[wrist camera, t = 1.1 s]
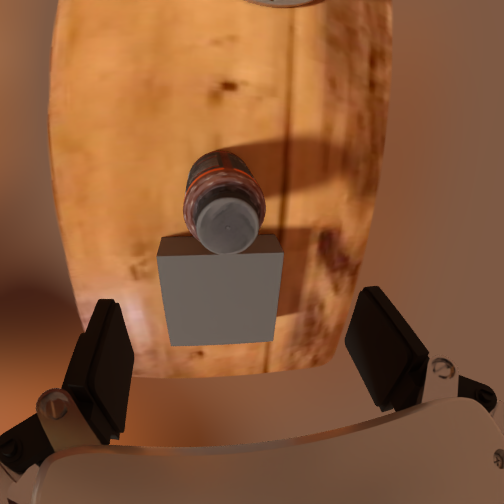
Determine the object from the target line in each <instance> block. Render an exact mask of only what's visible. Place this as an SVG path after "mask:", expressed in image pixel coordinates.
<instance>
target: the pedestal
mask: <svg viewBox="0 0 504 504" xmlns="http://www.w3.org/2000/svg"><path fill="white" fill-rule="evenodd" d="M283 257H284V251H283V249H282V247H281V245H280V243H279V241H278V239H277V237H276V235H275V234H270V235H257V237H256V239H255V241H254V242H253V243H252V244H251V245H250V246H249V247H248V248H247V249H246V250H244V251H242V252H240V253H237V254H234V255H219V254H216V253H213V252H211V251H209V250H208V249H207V248H205V247H204V246H203V245H202V243H201V242H200V241H198V240H197V239H196V238H195V237H194V236H188V237H162V238H161V242H160V246H159V249H158V253H157V263H158V271H159V278H160V285H161V292H162V298H163V304H164V310H165V316H166V322H167V327H168V333H169V338H170V343H171V346H199V345H223V344H241V343H255V342H267V341H273V337H274V329H275V322H276V314H277V307H278V299H279V291H280V283H281V274H282V266H283Z"/></svg>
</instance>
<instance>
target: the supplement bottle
mask: <svg viewBox="0 0 504 504" xmlns="http://www.w3.org/2000/svg"><path fill="white" fill-rule="evenodd" d="M265 211H266V205H265V199H264V196H263V193H262V191H261V189H260V187H259V185H258V183H257V182H256V180H255V178H254V177H253V175H252V174H251V172H250V171H249V169H248V167H247V166H246V164H245V163H244V162H243V161H242V160H241V159H240V158H239V157H237V156H236V155H234V154H232V153H229V152H225V151H214V152H210V153H208V154H205V155H203V156H202V157H200V158H199V159H198V160H197V161H196V162H195V163H194V165H193V166H192V168H191V170H190V172H189V176H188V181H187V186H186V192H185V199H184V206H183V214H184V220H185V223H186V225H187V227H188V229H189V231H190V232H191V234H192V235H193V236H194V237H195V238H196V239H197V240H198V241H200V242H201V243H202V245H203V246H204V247H205V248H207V249H208V250H209V251H211V252H213V253H216V254H219V255H234V254H237V253H240V252H242V251H244V250H246V249H247V248H248V247H249V246H250V245H251V244H252V243H253V242H254V241H255V239H256V237H257V235H258V232H259V229H260V227H261V226H262V223H263V221H264V217H265Z"/></svg>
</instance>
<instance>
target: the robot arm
mask: <svg viewBox="0 0 504 504" xmlns="http://www.w3.org/2000/svg"><path fill="white" fill-rule="evenodd" d="M244 1H247V2H250V3H253V4H257V5H261V6H268V7H283V8H286V7H294V6H300V5H303V4H307V3H310V2H312V1H314V0H273V1H270V0H244ZM345 345H346V348H347V350H348V351H349V354H350V355H351V357H352V359H353V361H354V363H355V365H356V367H357V369H358V371H359V373H360V375H361V377H362V379H363V381H364V383H365V385H366V387H367V389H368V391H369V393H370V395H371V397H372V399H373V401H374V403H375V405H376V406H379V407H380V409H381V411H382V412H384V411H388V410H391V409H393V408H394V409H395V411H396V412H395V413H392V414H388V415H385V416H382V417H379V418H375V419H372V420H369V421H365V422H362V423H358V424H354V425H350V426H346V427H342V428H338V429H334V430H330V431H325V432H321V433H316V434H311V435H305V436H300V437H294V438H289V439H282V440H275V441H268V442H260V443H251V444H241V445H230V446H213V447H141V446H120V445H109V444H110V439H117V440H119V435H120V433H123V432H124V429H125V420H126V412H127V404H128V396H129V390H130V383H131V377H132V370H133V365H134V352H133V349H132V346H131V342H130V339H129V336H128V333H127V329H126V326H125V322H124V319H123V315H122V312H121V308H120V305H119V303H115V301H114V299H99V300H98V302H97V304H96V306H95V309H94V311H93V314H92V316H91V319H90V321H89V324H88V327H87V329H86V332H85V333H82V334H81V335H80V336H79V339H78V341H77V344H76V347H75V349H74V352H73V355H72V358H71V361H70V363H69V366H68V369H67V372H66V375H65V379H64V382H63V385H62V388H61V389H59V388H54V389H53V388H52V389H49V390H47V391H45V392H44V393H42V395H41V396H40V397H39V398H38V401H37V403H36V411H37V413H36V414H34V415H32V416H31V417H29V418H28V419H26V420H25V421H23V422H21V423H19V424H18V425H16V426H15V427H13V428H11V429H10V430H8V431H6V432H5V433H3V434H2V435H1V436H0V504H30V503H31V504H504V403H503V402H502V401H501V400H499V401H498V402H497V397H496V395H495V393H494V391H493V390H492V389H491V388H490V387H489V386H487V385H485V384H482V383H479V382H476V381H474V380H471V379H468V378H465V377H463V376H460V375H459V372H458V367H457V365H456V364H455V363H454V362H453V360H451V359H450V358H449V357H446V356H444V355H435V356H433V357H431V358H429V357H428V354H429V352H428V350H427V349H426V347H425V346H424V345H423V343H422V342H421V341H420V339H419V338H418V337H417V335H416V334H415V333H414V331H413V330H412V329H411V327H410V326H409V325H408V323H407V322H406V321H405V319H404V318H403V317H402V315H401V314H400V313H399V311H398V310H397V309H396V308H395V306H394V305H393V304H392V303H391V301H390V300H389V299H388V297H387V296H386V295H385V294H384V292H383V291H382V290H381V289H380V288H379V287H378V286H370V287H365V288H364V289H363V290H362V291H360V293H359V296H358V299H357V302H356V306H355V309H354V312H353V315H352V319H351V321H350V325H349V328H348V331H347V334H346V337H345Z"/></svg>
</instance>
